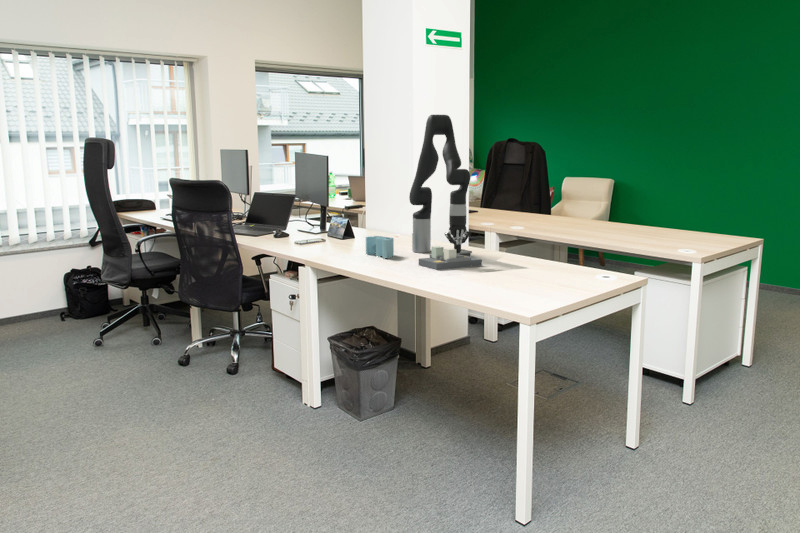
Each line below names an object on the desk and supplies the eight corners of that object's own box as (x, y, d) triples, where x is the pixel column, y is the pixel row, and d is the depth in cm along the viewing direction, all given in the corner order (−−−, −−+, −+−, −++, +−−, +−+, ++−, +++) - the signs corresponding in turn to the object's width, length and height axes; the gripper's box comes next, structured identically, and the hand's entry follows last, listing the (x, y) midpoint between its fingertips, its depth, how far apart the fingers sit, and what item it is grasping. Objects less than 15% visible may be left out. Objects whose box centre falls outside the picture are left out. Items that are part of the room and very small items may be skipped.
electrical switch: (445, 250, 311) (461, 245, 315) (447, 260, 312) (462, 255, 317) (456, 252, 303) (472, 247, 307) (458, 262, 304) (473, 258, 309)
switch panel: (418, 265, 290) (418, 255, 289) (462, 261, 301) (462, 251, 300) (436, 270, 276) (436, 259, 275) (481, 265, 287) (482, 256, 286)
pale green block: (431, 257, 291) (431, 246, 290) (438, 256, 293) (438, 246, 292) (435, 258, 287) (436, 247, 287) (443, 258, 289) (443, 247, 288)
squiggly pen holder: (399, 256, 317) (399, 238, 315) (385, 258, 310) (385, 240, 309) (375, 253, 330) (375, 235, 328) (361, 255, 323) (361, 237, 321)
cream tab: (443, 259, 283) (444, 248, 283) (451, 259, 285) (451, 248, 285) (448, 261, 280) (448, 249, 279) (456, 260, 282) (456, 249, 281)
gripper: (465, 213, 288) (465, 250, 290) (440, 214, 281) (440, 252, 284) (475, 214, 281) (474, 252, 284) (449, 215, 275) (449, 254, 278)
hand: (457, 252), depth 284 cm, fingers closed
